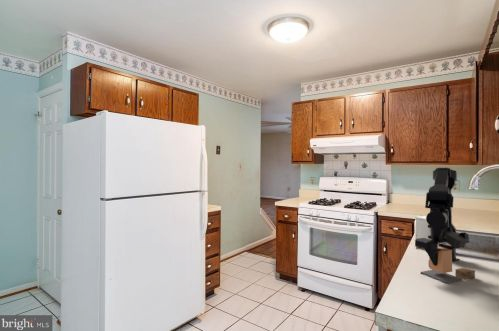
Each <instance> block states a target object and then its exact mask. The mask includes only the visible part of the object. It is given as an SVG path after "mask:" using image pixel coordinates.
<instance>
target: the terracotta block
mask: <svg viewBox="0 0 499 331" xmlns="http://www.w3.org/2000/svg"><path fill="white" fill-rule="evenodd" d="M438 248H439V249H442V250H441V251H440V252H438V263H437V266H435V265H433V263H432V261H431V259H430V257H429V256H428V268H429V270H435V271H437V272H440V273H452V272H453V261H452V250H450V249H447V248H443V247H439V245H438Z"/></svg>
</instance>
